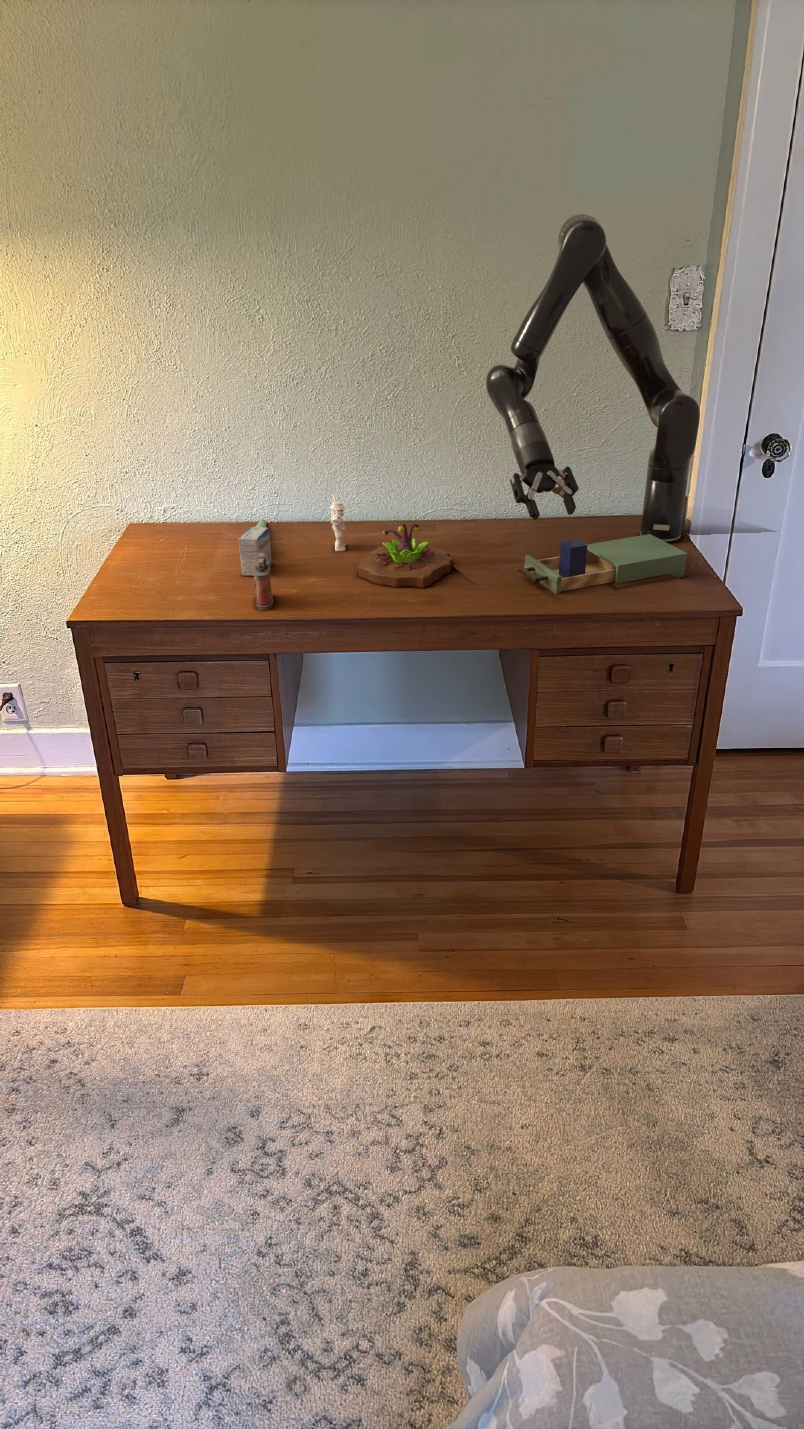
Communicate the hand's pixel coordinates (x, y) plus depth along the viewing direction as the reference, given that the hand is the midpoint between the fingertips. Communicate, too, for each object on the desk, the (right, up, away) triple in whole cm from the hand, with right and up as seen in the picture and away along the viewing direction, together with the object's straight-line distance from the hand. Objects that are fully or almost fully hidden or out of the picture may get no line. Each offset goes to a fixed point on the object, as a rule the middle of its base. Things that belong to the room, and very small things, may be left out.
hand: (554, 515), depth 208 cm
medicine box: (-64, -11, +8) cm, 66 cm away
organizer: (+17, -11, +4) cm, 21 cm away
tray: (+3, -14, -1) cm, 14 cm away
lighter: (-61, -20, -8) cm, 64 cm away
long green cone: (-66, -1, +25) cm, 71 cm away
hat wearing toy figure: (-47, -4, +20) cm, 51 cm away
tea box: (+3, -13, -1) cm, 14 cm away
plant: (-32, -11, +7) cm, 34 cm away
